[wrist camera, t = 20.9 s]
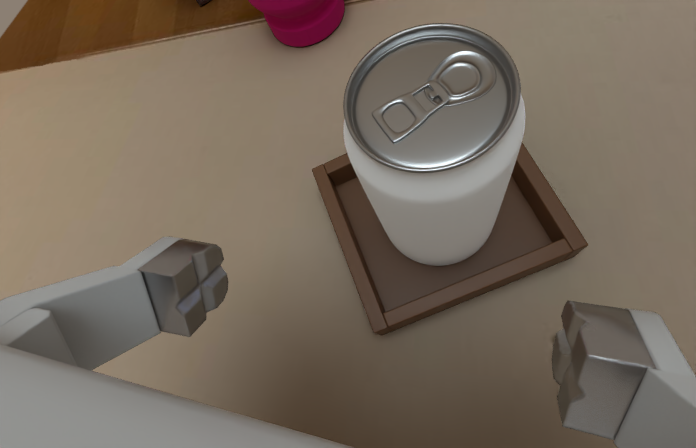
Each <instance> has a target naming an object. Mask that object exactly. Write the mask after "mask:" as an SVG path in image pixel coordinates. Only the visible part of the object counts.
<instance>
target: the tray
mask: <svg viewBox="0 0 696 448" xmlns="http://www.w3.org/2000/svg"><path fill="white" fill-rule="evenodd" d="M312 172H313V174H314V177H315V180H316V182H317V185H318V187H319V190H320V193H321V195H322V198H323V201H324V203H325V206H326V209H327V211H328V214H329V216H330V219H331V222H332V224H333V227H334V230H335V232H336V235H337V238H338V240H339V243H340V245H341V248H342V251H343V253H344V256H345V259H346V261H347V264H348V267H349V269H350V272H351V274H352V277H353V280H354V282H355V285H356V288H357V290H358V293H359V296H360V298H361V301H362V303H363V306H364V309H365V311H366V314H367V317H368V319H369V322H370V325H371V327H372V330H373V332H374V333H375V334H379V335H384V334H386V333H389V332H391V331H394V330H396V329H399V328H401V327H403V326H406V325H408V324H411V323H413V322H416V321H418V320H421V319H423V318H425V317H428V316H430V315H433V314H435V313H438V312H440V311H443V310H445V309H447V308H450V307H452V306H455V305H457V304H460V303H462V302H465V301H467V300H469V299H472V298H474V297H477V296H479V295H482V294H484V293H487V292H489V291H491V290H494V289H496V288H499V287H501V286H504V285H506V284H509V283H511V282H513V281H516V280H518V279H521V278H523V277H526V276H528V275H531V274H533V273H535V272H538V271H540V270H543V269H545V268H548V267H550V266H553V265H555V264H557V263H560V262H562V261H565V260H567V259H570V258H572V257H574V256H575V255H576V254H578V253H579V252H580V251H581V250H583V249H584V248H585V247H587V246H588V243H587V242H586V240H585V239H584V237H583V236H582V234H581V233H580V231H579V229H578V228H577V226H576V225H575V223H574V222H573V220H572V219H571V217H570V216H569V214H568V212H567V211H566V209H565V208H564V206H563V205H562V203H561V202H560V200H559V199H558V197H557V195H556V194H555V192H554V191H553V189H552V188H551V186H550V185H549V183H548V182H547V180H546V179H545V177H544V175H543V174H542V172H541V171H540V169H539V168H538V166H537V165H536V163H535V162H534V160H533V158H532V157H531V155H530V154H529V152H528V151H527V149H526V148H525V146H524V145H523V143H521V147H520V150H519V153H518V156H517V159H516V163H515V166H514V169H513V172H512V175H511V178H510V181H509V183H508V186H507V189H506V192H505V195H504V198H503V201H502V204H501V207H500V210H499V212H498V215H497V218H496V221H495V224H494V226H493V229H492V231H491V233H490V235H489V237H488V239H487V241H486V242H485V243H484V245H483V246H482V247H481V248H480V249H479V250H478V251H477V252H476V253H475V254H473V255H472V256H470V257H469V258H467V259H465V260H463V261H461V262H458V263H455V264H451V265H445V266H432V265H426V264H422V263H419V262H416V261H414V260H412V259H410V258H408V257H406V256H405V255H404V254H402V253H401V252H400V251H399V250H398V249H397V248H396V247H395V246H394V244H393V243H392V242H391V240H390V239H389V237H388V235H387V233H386V232H385V230H384V228H383V226H382V224H381V222H380V220H379V218H378V216H377V214H376V212H375V211H374V209H373V207H372V205H371V203H370V201H369V199H368V197H367V195H366V193H365V191H364V189H363V187H362V185H361V183H360V181H359V179H358V177H357V175H356V173H355V171H354V169H353V166H352V164H351V162H350V159H349V157H348V154H347V153H346V154H344V155H342V156H340V157H338V158H335V159H333V160H331V161H329V162H327V163H325V164H324V165H323V164H322V165H320V166H318V167H316V168H313V169H312Z"/></svg>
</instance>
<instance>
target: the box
mask: <svg viewBox="0 0 696 448" xmlns="http://www.w3.org/2000/svg"><path fill="white" fill-rule="evenodd" d="M196 1H197V2H198V4H199V5H200V6H201V5H203V4H205V3H207V2H208V1H210V0H196Z"/></svg>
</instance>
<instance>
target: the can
mask: <svg viewBox="0 0 696 448" xmlns="http://www.w3.org/2000/svg"><path fill="white" fill-rule="evenodd" d="M343 109H344V118H345V119H344V129H343V132H344V142H345V147H346V151H347V154H348V157H349V159H350V162H351V164H352V166H353V169H354V171H355V173H356V175H357V177H358V179H359V181H360V183H361V185H362V187H363V189H364V191H365V193H366V195H367V197H368V199H369V201H370V203H371V205H372V207H373V209H374V211H375V212H376V214H377V216H378V218H379V220H380V222H381V224H382V226H383V228H384V230H385V232H386V233H387V235H388V237H389V239H390V240H391V242H392V243H393V244H394V246H395V247H396V248H397V249H398V250H399V251H400V252H401V253H402V254H404V255H405V256H406V257H408V258H410V259H412V260H414V261H416V262H419V263H422V264H426V265H432V266H445V265H451V264H455V263H458V262H461V261H463V260H465V259H467V258H469V257H470V256H472V255H473V254H475V253H476V252H477V251H478V250H479V249H480V248H481V247H482V246H483V245H484V243H485V242H486V241H487V239H488V237H489V235H490V233H491V231H492V229H493V226H494V224H495V221H496V218H497V215H498V212H499V210H500V207H501V204H502V201H503V198H504V195H505V192H506V189H507V186H508V183H509V181H510V178H511V175H512V172H513V169H514V166H515V163H516V159H517V156H518V153H519V150H520V147H521V143H522V139H523V135H524V129H525V107H524V102H523V98H522V95H521V85H520V78H519V74H518V70H517V68H516V65H515V63H514V61H513V59H512V58H511V56H510V55H509V53H508V52H507V51H506V50H505V49H504V47H503V46H502V45H501V44H499V43H498V42H497V41H496V40H495V39H493V38H492V37H490V36H489V35H487V34H485V33H483V32H481V31H479V30H476V29H474V28H471V27H467V26H463V25H458V24H450V23H433V24H425V25H419V26H415V27H411V28H408V29H405V30H403V31H400V32H398V33H396V34H393V35H392V36H390V37H388V38H386V39H385V40H383V41H381V42H380V43H379V44H377V45H376V46H375V47H373V48H372V49H371V50H370V51H369V52H368V53H367V54H366V55H365V56H364V57H363V58H362V59H361V61H360V62H359V63H358V64H357V66H356V67H355V69H354V71H353V72H352V74H351V76H350V78H349V81H348V83H347V86H346V90H345V94H344V103H343Z"/></svg>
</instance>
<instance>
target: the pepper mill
mask: <svg viewBox="0 0 696 448" xmlns="http://www.w3.org/2000/svg"><path fill="white" fill-rule="evenodd" d="M248 1H249V2H250V3H251V4H252V5H253V6H254V7H255V8H256V9H258V10H259V11H261V12H263V13H264V16H265V19H266V21H267V23H268V25H269V27H270V28H271V30H272V32H273V34H274V36H275V37H276V38H277V39H278V40H279V41H280V42H282V43H284V44H286V45H289V46H293V47H304V46H308V45H312V44H315V43H317V42H320V41H321V40H323V39H324V38H326V37H327V36H329V35H330V34H331V33H332V32H333V31H334V30H335V29H336V28H337V27H338V26H339V24H340V22H341V20H342V17H343V14H344V9H345V8H344V0H248Z"/></svg>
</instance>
